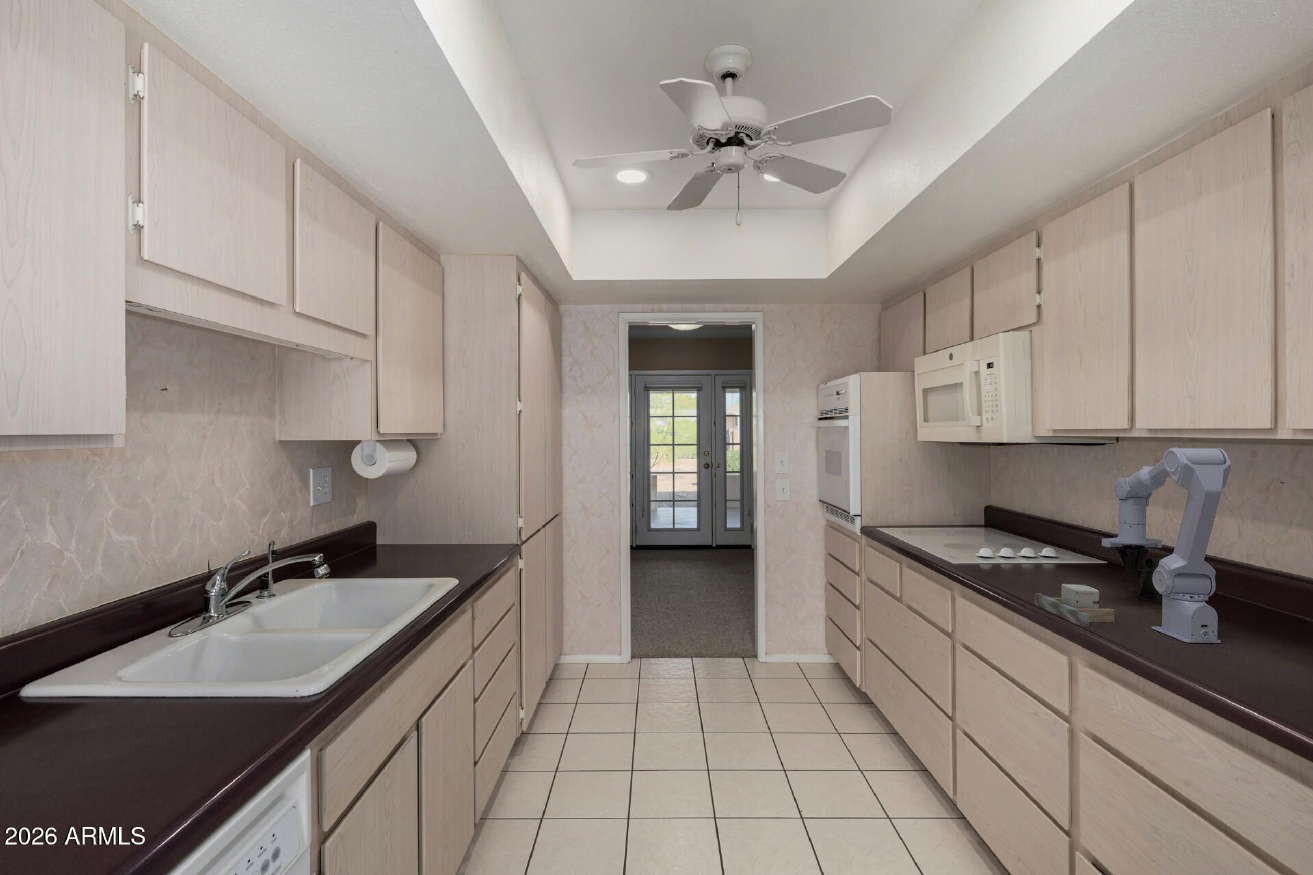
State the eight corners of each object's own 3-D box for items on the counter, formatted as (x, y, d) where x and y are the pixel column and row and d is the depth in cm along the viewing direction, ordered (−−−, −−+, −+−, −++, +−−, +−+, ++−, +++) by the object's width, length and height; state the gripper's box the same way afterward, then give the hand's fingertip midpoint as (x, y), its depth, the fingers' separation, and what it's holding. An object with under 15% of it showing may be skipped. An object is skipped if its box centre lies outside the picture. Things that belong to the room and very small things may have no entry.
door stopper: (1183, 604, 159) (1184, 561, 159) (1164, 605, 158) (1165, 561, 158) (1150, 595, 168) (1151, 554, 168) (1132, 596, 167) (1133, 554, 167)
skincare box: (1073, 618, 147) (1073, 589, 147) (1060, 610, 153) (1060, 583, 153) (1099, 619, 146) (1100, 590, 146) (1085, 612, 152) (1085, 584, 152)
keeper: (1126, 627, 141) (1126, 614, 141) (1082, 626, 141) (1082, 614, 141) (1073, 604, 159) (1073, 593, 159) (1034, 604, 159) (1034, 593, 159)
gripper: (1146, 520, 159) (1145, 570, 159) (1093, 520, 159) (1092, 569, 159) (1169, 525, 152) (1168, 576, 152) (1113, 524, 152) (1112, 576, 152)
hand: (1131, 573), depth 155 cm, fingers closed
